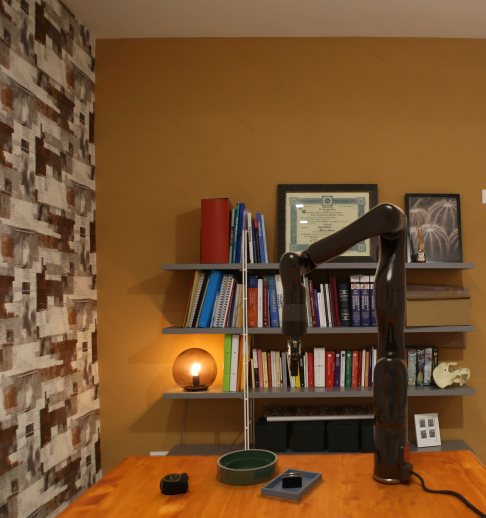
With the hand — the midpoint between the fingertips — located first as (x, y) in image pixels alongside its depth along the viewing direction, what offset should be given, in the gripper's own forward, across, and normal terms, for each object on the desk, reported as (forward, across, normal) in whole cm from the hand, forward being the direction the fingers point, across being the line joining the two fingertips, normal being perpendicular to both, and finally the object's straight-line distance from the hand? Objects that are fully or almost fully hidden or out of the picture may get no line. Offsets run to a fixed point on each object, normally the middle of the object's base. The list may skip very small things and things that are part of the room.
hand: (293, 373), depth 146 cm
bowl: (+26, -8, +13) cm, 30 cm away
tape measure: (+26, -15, +30) cm, 42 cm away
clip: (+26, -18, +1) cm, 31 cm away
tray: (+26, -18, +1) cm, 32 cm away
